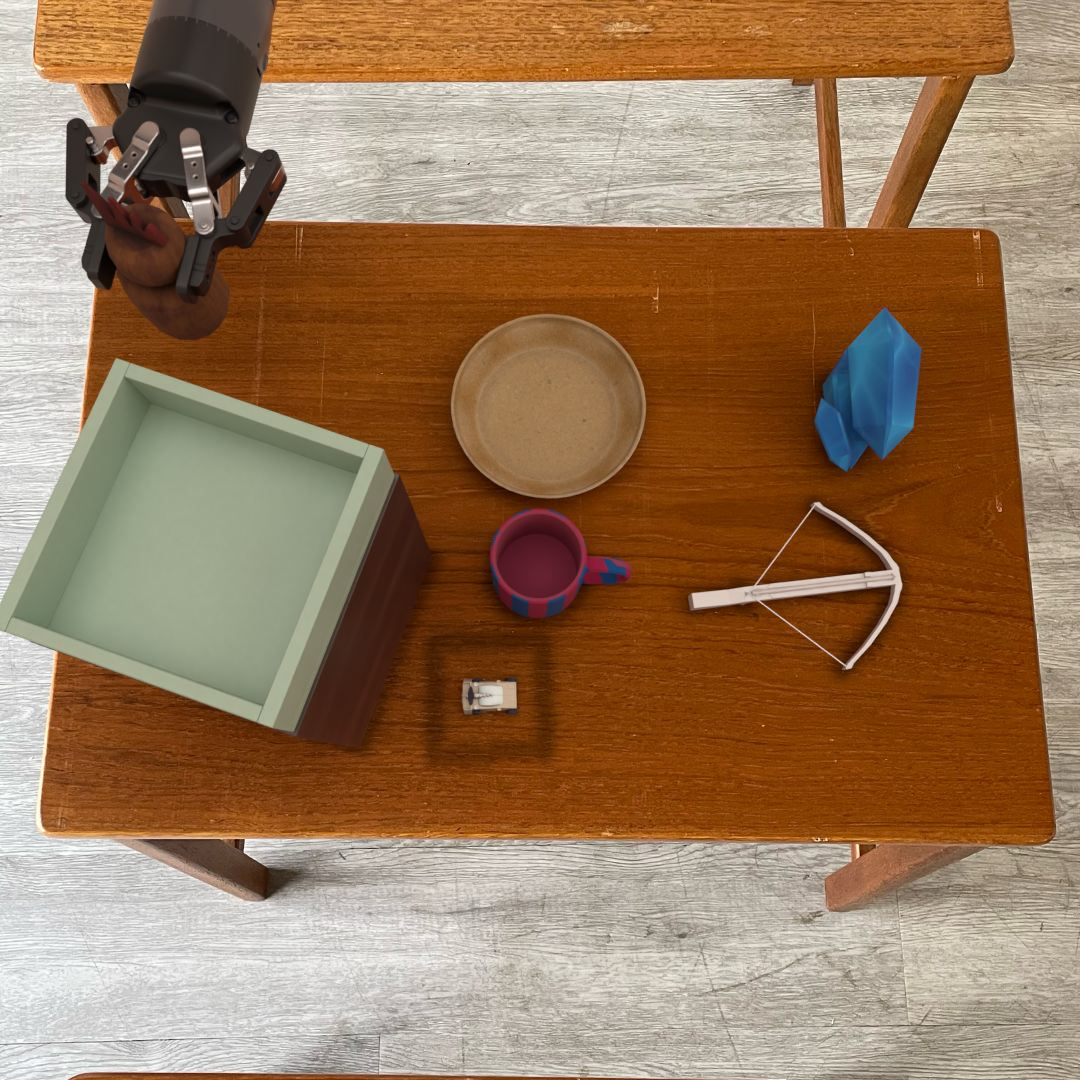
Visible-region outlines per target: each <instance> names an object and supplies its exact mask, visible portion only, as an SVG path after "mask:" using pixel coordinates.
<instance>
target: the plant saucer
mask: <svg viewBox="0 0 1080 1080" xmlns="http://www.w3.org/2000/svg"><path fill="white" fill-rule="evenodd" d="M451 390H452V391H451V397H450V414H451V420H452V426H453V430H454V433H455V436H456V439H457V441H458V443H459V446H460V447H461V449H462V451H463V452H464V455H465V456H466V457H467V458H468V460H469V461H470V462H471V464H472V465H473V466H474V467H475V468H476V470H478V471H479V472H480V473H481V474H482V475H484V476H485V477H486V478H487V479H489V480H490V481H491V482H493V483H494V484H496V485H498V486H499V487H500V488H504V489H506V490H508V491H510V492H513V493H516V494H518V495H522V496H526V497H532V498H538V499H561V498H567V497H574V496H576V495H580V494H583V493H586V492H588V491H591V490H593V489H595V488H596V487H599V486H600V485H602V484H604V483H605V482H607V481H608V480H610V479H611V478H612V477H613V476H615V475H616V474H617V473H618V472H619V471H620V470H621V469H622V468H623V467H624V466H625V465H626V463H628V461H629V460H630V458H631V456H633V453H634V452H635V450H636V448H637V447H638V444H639V442H640V440H641V437H642V434H643V431H644V427H645V422H646V416H647V415H646V414H647V401H646V400H647V399H646V392H645V388H644V384H643V380H642V378H641V375H640V372H639V370H638V368H637V367H636V364H635V362H634V361H633V358H632V357H631V356H630V355H629V353H628V352H627V351H626V349H625V348H624V347H623V345H621V343H620V342H619V341H618V340H617V339H615V338H614V337H613V336H612V335H610V334H609V333H608V332H607V331H605V330H603V329H601V328H600V327H598V326H597V325H595V324H593V323H591V322H589V321H586V320H584V319H580V318H578V317H573V316H570V315H564V314H553V313H539V314H531V315H525V316H520V317H518V318H515V319H513V320H509V321H506V322H505V323H503V324H500V325H498V326H497V327H495V328H494V329H492V330H490V331H489V332H488V333H487V334H485V335H484V336H483V337H482V338H480V339H479V340H478V341H477V342H476V343H475V344H474V345H473V347H471V349H469V351H468V353H467V354H466V355H465V357H464V358H463V361H462V362H461V363H460V366H459V368H458V370H457V372H456V374H455V378H454V381H453V385H452V389H451Z"/></svg>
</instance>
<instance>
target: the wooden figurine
mask: <svg viewBox="0 0 1080 1080" xmlns="http://www.w3.org/2000/svg"><path fill="white" fill-rule="evenodd" d="M81 186H82V187H83V189H84V191H85V192H86V194H87V195H88V197H89V198H90V200H91V201H92V203H93V205H94V206H95V208H96V209H97V211H98V212H99V214H100V215H101V217H102V218H103V220H104V221H105V223H106V224H107V225H106V229H105V243H106V247H107V250H108V254H109V257H110V258H111V260H112V261H113V263H114V264H115V266H116V267H117V269H116V277H117V279H118V280H119V283H120V285H121V287H122V289H123V291H124V293H125V295H126V296H127V298H128V299H129V300H130V301H131V303H132V304H133V305H134V307H136V309H138V311H139V312H140V314H141V315H142V316H143V317H144V318H145V319H147V320H148V322H150V323H151V324H152V325H153V326H155V328H157V329H158V330H159V331H160V332H163V333H164V334H166V335H168V336H170V337H172V338H173V339H177V340H180V341H198V340H201V339H204V338H206V337H209V336H211V335H212V334H213V333H214V332H215V331H217V330H218V329H219V328H220V327H221V325H222V324H223V322H224V321H225V319H226V317H227V315H228V311H229V306H230V298H231V297H230V295H231V291H230V286H229V284H228V282H227V281H226V278H225V277H224V275H223V274H222V272H221V270H220V269H219V267H218V266H217V265H216V266H215V270H214V274H213V278H212V281H211V286H210V290H209V291H208V293H207V294H206V295H205V297H202V296H199V298H198V302H197V303H196V304H189V303H184V302H183V301H182V300H181V298H180V297H179V295H178V294H177V292H176V281H177V278H178V274H179V270H180V266H181V262H182V258H183V254H184V250H185V246H186V243H187V239H188V235H189V234H188V235H187V234H186V233H185V232H184V231H183V229H182V227H181V226H180V225H179V223H178V222H177V221H176V219H175V218H174V217H173V216H172V215H170V214H169V213H167V212H166V211H165V210H163V209H162V208H160V207H158V206H156V205H152V204H150V205H149V204H137V203H135V204H131V205H128V206H125V207H122V206H121V205H120V204H119V203H118V202H117V201H116V200H115V199H114V198H113V197H112V196H109V197H108V201H109V203H110V204H109V203H108V202H107V201H106V200H105V199H104V198H103V197H102V196H100V195H99V194H98V193H97V192H96V191H95V190H94V189H92V188H91V187H90V186H89V185H88V184H87V183H85V182H83V181H82V182H81Z"/></svg>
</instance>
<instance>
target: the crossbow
mask: <svg viewBox="0 0 1080 1080" xmlns="http://www.w3.org/2000/svg"><path fill="white" fill-rule="evenodd" d="M809 506H810V508H811V509H810V510H808V513H807V514H806V515H805V517H804V518H803V519H802V520H801V522H800V523H799V524H798V526H797V527H796V529H795V530H794V531H793V533H792V534H791V535H790V537H789V538H788V539H787V541H786V542H785V543H784V545H783V546H782V548H781V549H780V550H779V552H778V553H777V554H776V555H775V557H774V558H773V559H772V561H771V562H770V564H769V565H768V567H767V568H766V569H765V570H764V572H763V573H762V574H761V576H760V577H759V578H758V580H757V581H756V583H755V584H754V585H750V586H749V585H748V586H742V587H735V588H730V589H721V590H711V591H710V590H709V591H700V592H692V593H690V594H689V595H688V596H687V599H688V606H689V611H690V612H693V611H698V610H707V609H714V608H721V607H729V606H736V605H740V606H744V605H746V604H750V603H759V604H761V606H763V607H765V608H766V609H767V610H769V611H770V612H771V613H773V614H774V615H775V616H776V617H778V618H779V619H781V620H782V621H783V622H785V623H786V624H787V625H789V626H790V627H792V628H793V629H794V630H795V631H797V632H798V633H800V634H801V635H802V636H803V637H805V638H806V639H808V640H809V641H810V642H811V643H813V644H814V645H816V646H817V647H818V648H820V649H821V650H822V651H824V652H825V653H826V654H828V655H829V656H831V658H833V659H834V660H835V661H837V662H838V663H839V664H841V665H842V669H841V671H846V670H851V669H852V668H853V666H854V664H855V663H856V662H857V660H858V659H859V658H860V657H861V656H862V655H863V654H864V653H865V652H866V651H867V650H868V649H869V647H871V646H872V643H873V642H874V641H875V640H876V638H877V637H878V635H879V634H880V633H881V631H882V630H883V628H884V627H885V626H886V625H887V623H888V621H889V619H890V617H891V615H892V614H893V612H894V611H895V608H896V607H897V605H898V603H899V598H900V595H901V591H902V590H903V584H904V583H902V578H901V573H900V572H901V571H900V567H899V565H898V564H897V562H895V561H894V560H893V558H892V556H891V555H890V553H889V552H888V551H887V550H886V549H884V548H883V547H882V546H881V545H880V544H879V543H878V542H876V541H875V540H874V539H873V538H872V537H871V536H870V535H868V533H865V532H864V531H863V530H862V529H860V528H859V527H857V526H856V525H855V524H853V523H852V522H850V521H849V520H848V519H846V518H844V517H843V516H841V515H839V514H837V513H836V512H834V511H832V510H831V509H829V508H827V507H825V506H824V505H823V504H822V503H821V502H820V501H816V502H812V503H811V504H810V505H809ZM813 510H815V511H816V512H818V513H820V514H821V515H823V516H824V517H826V518H828V519H829V520H832V521H834V522H835V523H837V524H838V525H839V526H841V527H842V528H844V529H845V530H846V531H848V532H849V533H850V534H852V535H853V536H855V537H856V538H857V539H859V540H860V541H861V542H862V543H863V544H864V545H865V546H867V547H868V548H869V549H870V550H871V551H873V552H874V553H875V554H876V555H877V556H878V557H879V560H881V562H882V563H883V565H884V568H885V569H886V570H880V571H879V570H878V571H866V572H862V573H854V574H853V573H852V574H845V575H837V576H836V575H835V576H827V577H820V578H818V577H817V578H809V579H801V580H794V581H783V582H773V583H766V584H759V582H760V581H761V580H762V578H763V577H764V576H765V574H766V573H767V571H768V570H769V569H770V567H771V566H772V565H773V563H775V561H776V559H777V558H778V557H779V556H780V554H781V553H782V552H783V550H784V549H785V547H786V546H787V545H788V543H789V542H790V540H792V538H793V536H794V535H795V534H796V532H797V531H798V530H799V529H800V527H801V526H802V524H803V523H804V522H805V520H806V519H807V517H809V515H810V514H811V512H812V511H813ZM758 584H759V585H758ZM886 587H890V591H889V592H890V595H889V599H888V603H887V606H886V607H885V609H884V611H883V612H882V615H881V616H880V618H879V620H878V621H877V624H876V625H875V627H874V628H873V629H872V631H871V632H870V633H869V635H868V636H867V637H866V639H865V640H864V641H863V643H862V644H861V646H860V647H859V648H858V649H857V650H856V652H854V653H853V655H852V656H851V657H850V658H849V659H848V660H847V661H846V663H844V662H842V661H841V660H839V659H838V658H837V657H836V656H834V655H833V654H831V652H829V651H827V650H826V649H825V648H823V647H822V646H821V645H820V644H819V643H817V642H815V641H814V640H813V639H811V638H810V637H809V636H807V635H806V634H805V633H803V632H802V631H800V630H799V629H798V628H797V627H796V626H794V625H793V624H791V623H790V622H789V621H788V620H786V619H785V618H783V617H782V616H780V615H779V614H778V613H777V612H775V611H774V610H773V609H771V608H770V607H769V606H767V605H766V604H765V603H763V602H768V601H774V600H784V599H792V598H800V597H809V596H818V595H826V594H834V593H843V592H850V591H851V592H853V591H861V590H869V589H877V588H886Z"/></svg>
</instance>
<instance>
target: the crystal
mask: <svg viewBox="0 0 1080 1080" xmlns="http://www.w3.org/2000/svg"><path fill="white" fill-rule="evenodd" d="M897 320H898V319H896V318H895V317H894V316H893V314H892V313H891V312H890V311H889V310H888V309H887V308H886V306H884V307H883V308H882V309H881V310H880V311H879V313H877V315H876V316H875V317H874V318H873V319H872V320H871V321H870V323H869V324H868V325H866V327H865V328H864V329H863V330H862V331H861V332H860V333H859V334H858V336H856V338H855V339H853V341H852V342H851V344H849V346H848V347H847V348H846V349H844V352H843V353H842V354H841V356H840V358H839V359H838V360H837V362H836V363H835V365H834V367H833V368H832V370H831V372H829V375H828V376H827V378H826V379H825V381H824V382H823V384H822V394H823V395H822V396H823V397H820V402H819V405H818V407H817V411H816V414H815V417H814V421H813V423H814V425H815V428H816V430H817V432H818V436H819V437H820V440H821V442H822V445H823V447H824V449H825V452H826V454H827V457H828V459H829V461H830V462H831V463H833V464H834V465H836V466H837V467H838V468H840V469H842V470H843V471H845V473H846V472H848V469H849V470H852V469H853V467H854V466H855V465H856V463H857V462H858V460H859V459H860V457H861V456H863V455H862V454H863V453H864V452H865V450H866V449H867V448H868V446H869V447H870V449H871V450H872V451H873V452H874V453H875V454H876V455H877V456H878V457H879V458H880V460H882V461H883V460H884V459H885V458H886V457H887V456H888V455H889V454H890V453H891V452H892V451H893V450H894V449H895V448H896V447H897V446H898V445H899V443H901V441H902V440H903V439H904V438H905V437H906V436H907V435H908V434H909V433H910V432H911V431H912V430H913V429H914V425H915V424H914V423H915V414H916V406H917V405H916V404H917V396H918V386H919V376H920V367H921V356H922V347H921V346H920V345H919V344H918V343H917V342H916V340H915V339H914V338H913V337H912V336H911V335H910V334H909V332H908V331H906V329H905V328H904V327H903V326H902V325H901V323H900V322H899V321H897Z"/></svg>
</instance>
